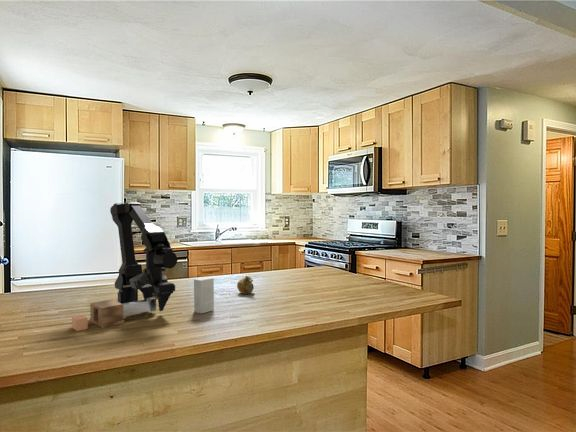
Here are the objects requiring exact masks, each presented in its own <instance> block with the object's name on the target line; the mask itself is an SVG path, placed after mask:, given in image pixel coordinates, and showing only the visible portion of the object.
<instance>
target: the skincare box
mask: <svg viewBox="0 0 576 432" xmlns="http://www.w3.org/2000/svg"><path fill="white" fill-rule="evenodd" d="M214 280H215V279H214V278H213V277H209V276H205V277H198V278H195V279H193V298H194V299H193V303H194V304H193V305H194V307H193V310H194V313H199V314H204V313H208V312H212V311H215V302H214V301H215V290H214V288H215V287H214V286H215V285H214Z"/></svg>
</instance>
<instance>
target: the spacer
mask: <svg viewBox="0 0 576 432" xmlns="http://www.w3.org/2000/svg"><path fill="white" fill-rule="evenodd" d="M71 328H72V329H73V330H75V331H77V332H79V331H82V330H83V331H84V330H87V329H88V317H87V316H85V315H83V314H78V315H74V316H71Z"/></svg>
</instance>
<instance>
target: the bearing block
mask: <svg viewBox="0 0 576 432" xmlns="http://www.w3.org/2000/svg"><path fill="white" fill-rule="evenodd" d="M89 304H90V306H89V308H90V313H89V314H90V315H89V316H90V318H89V322H90V323H92V324H93V325H96V326H98V327H99V328H102V329H105V328H109V327H113V326H119V325H123V324H125V319H124V316H123V304H122V303H119V302H118V301H117V300H113V299H108V300H102V301H96V302H91V303H89Z"/></svg>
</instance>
